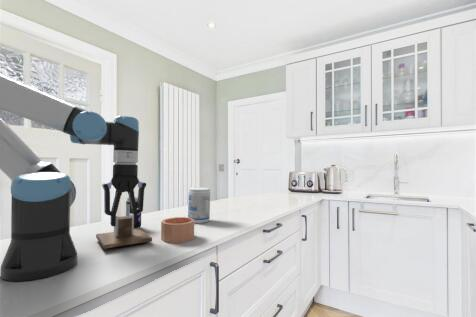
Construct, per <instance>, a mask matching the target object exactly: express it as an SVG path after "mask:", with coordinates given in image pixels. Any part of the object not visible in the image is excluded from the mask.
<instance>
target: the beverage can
mask: <svg viewBox="0 0 476 317" xmlns="http://www.w3.org/2000/svg"><path fill="white" fill-rule="evenodd" d="M135 202H136V207H137V205H138V196H136V197H135ZM129 214H132V211H131V205H130V200H129V197H127V198H126V200H125V216H129ZM141 227H142V212H139V213H138V214H137V223H136V224H134V229H140V228H141Z"/></svg>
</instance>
